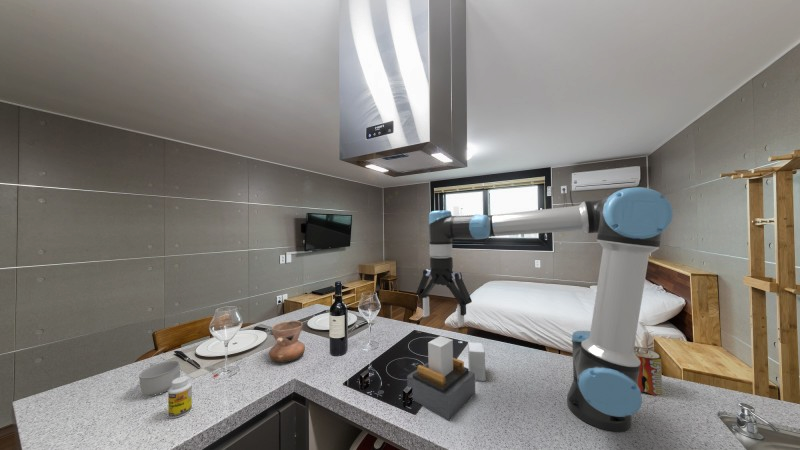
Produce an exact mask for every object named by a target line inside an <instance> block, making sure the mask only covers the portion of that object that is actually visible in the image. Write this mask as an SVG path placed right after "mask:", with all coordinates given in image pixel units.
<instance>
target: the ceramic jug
mask: <svg viewBox="0 0 800 450" xmlns="http://www.w3.org/2000/svg"><path fill="white" fill-rule="evenodd" d="M302 329H303V322H302V321H300V320H284V321H281V322H278V323H275V324H274V325H272V327H271V331H272V334H273V337H274V340H275V342H276V344H274V345H273V346H272V347H271V348H270V350H269V351H268V356H269V358H270V359H271V360H272V361H274V362H278V363H287V362H292V361H294V360H296V359H298V358H300V357H302V355H303V354H304V352H305V350H306V346H305V344H304V343H303V342H302V341H300V340H298V339H299V337H300V334H301V332H302Z"/></svg>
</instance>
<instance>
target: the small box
mask: <svg viewBox="0 0 800 450" xmlns="http://www.w3.org/2000/svg"><path fill="white" fill-rule="evenodd" d="M467 354H468V355H467V357H468V369H469V371H471V372H473V373H475V381H480V382H486V381H487V379H486V378H487V377H486V353H485V348H484V345H483V343H482V342H470V341H469V342H467Z"/></svg>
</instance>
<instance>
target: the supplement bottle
mask: <svg viewBox="0 0 800 450" xmlns="http://www.w3.org/2000/svg"><path fill="white" fill-rule="evenodd" d="M192 387H193V384H192V382H190V381H189V376H186V375H185V376H184V375H183V376H180V377H179V378H176V379H175V380H173V381H172V387H171V388H170V389H169V390H168V391H167V394H168V395H167V397H168V398H167V399H168V401H167V403H168V404H167V406H168V407H167V409H168V410H167V411H168V412H167V413H168V418H170V419H177V417H178V418H180V417H183V416H185V415H187V414H188V413H189V412H191V410H192V407H193V406H192V404H193V403H192V402H193V400H192V399H193V398H192V397H193V395H192V393H193V392H192V391H193V390H192Z"/></svg>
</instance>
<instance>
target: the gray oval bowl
mask: <svg viewBox="0 0 800 450" xmlns="http://www.w3.org/2000/svg"><path fill="white" fill-rule="evenodd" d="M179 377H181V362H180V360H175V359H174V360H173V359H172V360H167V361H162V362H159V363H157V362H154V363H151V364H150V365H149V366H148V367H147V368H145V369H144V370H142V371H141V372H140V373H138V379H139V388H140V390H141V393H143V395H145V396H146V395H148V396H152V395H154V396H156V395H155V394H159V395H161V394H160V393H162V394H164V393H163V392H165V393H166V391H167V392H168V391H169V389H170V388H171V387H172V381H173V380H175V379H176V378H179Z"/></svg>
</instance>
